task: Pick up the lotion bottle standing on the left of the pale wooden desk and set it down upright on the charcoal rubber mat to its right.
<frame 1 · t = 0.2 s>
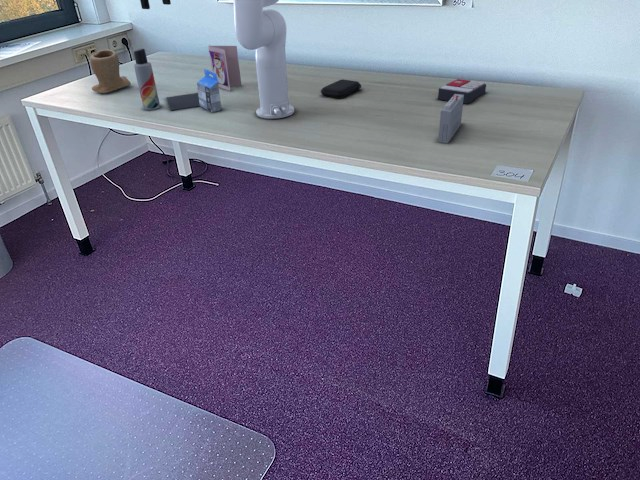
hand: (156, 6, 176), 31 cm above the table, tool pointing down, fingers open, 9 cm apart
mat: (188, 101, 188), on the table
carrying case: (342, 93, 189), on the table
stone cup: (114, 90, 206), on the table
grey and red box: (461, 96, 179), on the table
cassette player: (449, 133, 151), on the table
label tape box: (210, 108, 180), on the table, touching mat
greeting card: (228, 87, 202), on the table
lotion bottle: (152, 108, 184), on the table
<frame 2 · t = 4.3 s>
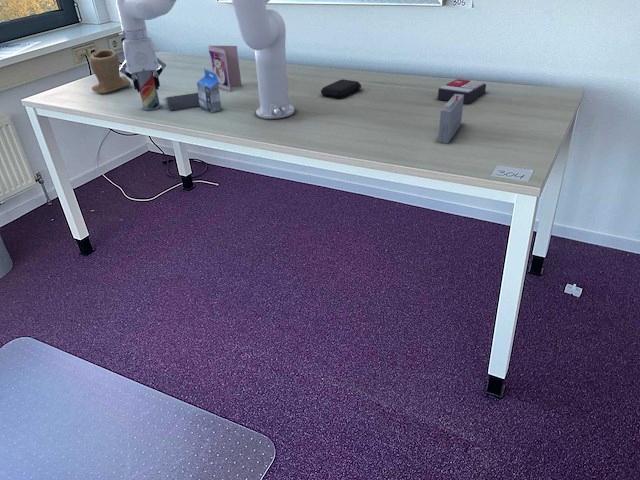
hand: (147, 89, 180), 7 cm above the table, tool pointing down, fingers closed on lotion bottle, 5 cm apart
lotion bottle: (152, 108, 184), on the table, touching gripper
everything else where it was.
when the fingers open (7 cm above the table, at t = 11.7 s): lotion bottle stays where it is, resting on mat.
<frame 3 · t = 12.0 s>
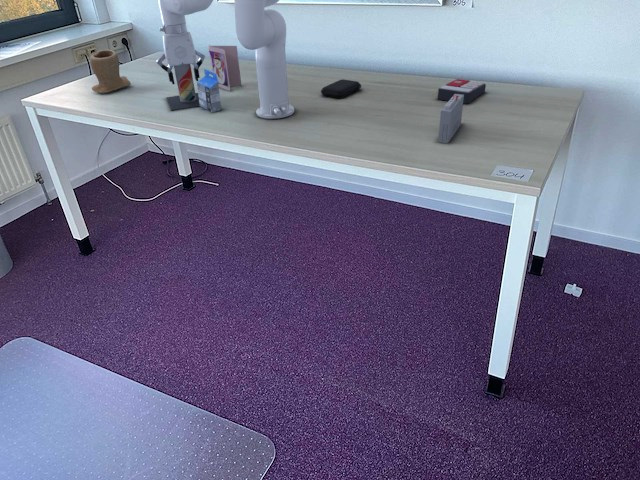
hand: (185, 81, 184), 7 cm above the table, tool pointing down, fingers open, 7 cm apart
lotion bottle: (188, 101, 188), resting on mat
everything else where it was.
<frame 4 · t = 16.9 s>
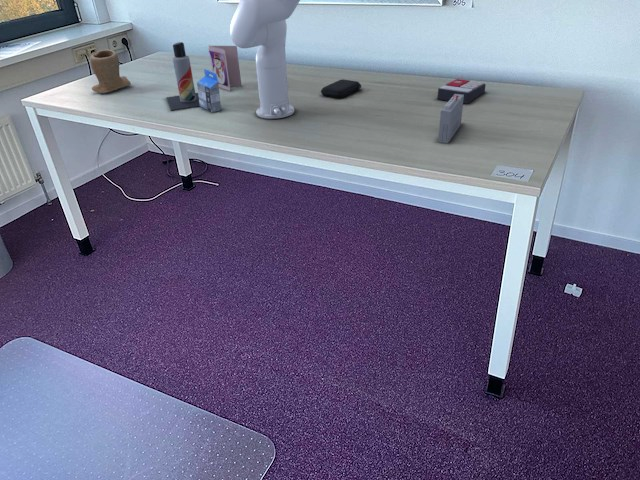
nothing on the table moved.
at the end: lotion bottle inside the target area on the mat (0.0 cm from its centre), point 0.2 cm above the mat's base; lotion bottle tilted 0°; the gripper is holding nothing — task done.
